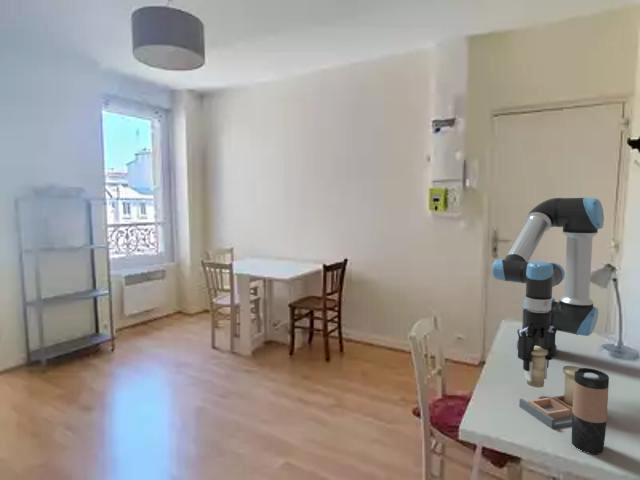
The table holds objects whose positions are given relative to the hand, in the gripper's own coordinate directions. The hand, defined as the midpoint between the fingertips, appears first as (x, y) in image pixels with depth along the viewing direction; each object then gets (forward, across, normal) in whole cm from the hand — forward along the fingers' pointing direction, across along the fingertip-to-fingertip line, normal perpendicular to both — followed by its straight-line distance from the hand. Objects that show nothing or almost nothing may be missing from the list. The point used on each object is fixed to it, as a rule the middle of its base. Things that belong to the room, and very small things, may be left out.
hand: (535, 378), depth 138 cm
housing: (+6, 0, -11) cm, 13 cm away
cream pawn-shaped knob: (+2, 0, 0) cm, 2 cm away
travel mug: (+6, -8, -27) cm, 29 cm away
